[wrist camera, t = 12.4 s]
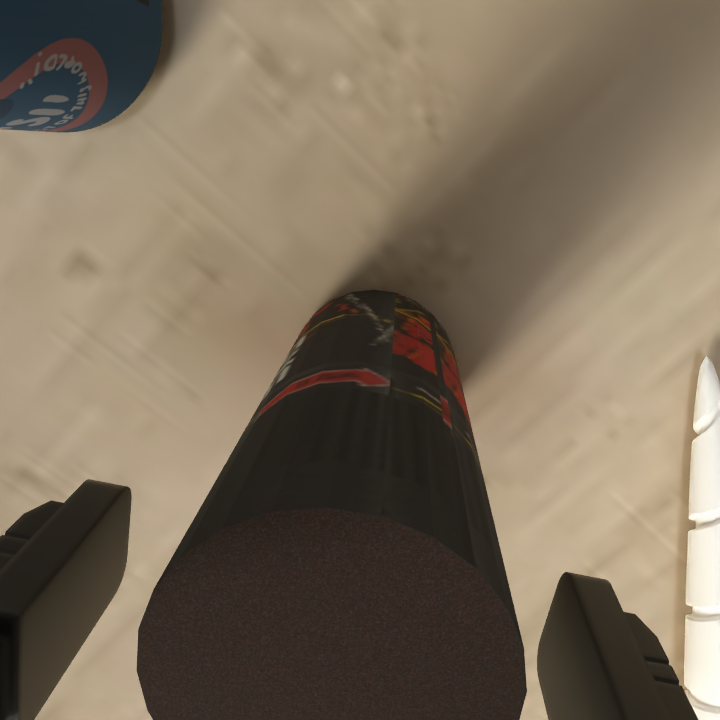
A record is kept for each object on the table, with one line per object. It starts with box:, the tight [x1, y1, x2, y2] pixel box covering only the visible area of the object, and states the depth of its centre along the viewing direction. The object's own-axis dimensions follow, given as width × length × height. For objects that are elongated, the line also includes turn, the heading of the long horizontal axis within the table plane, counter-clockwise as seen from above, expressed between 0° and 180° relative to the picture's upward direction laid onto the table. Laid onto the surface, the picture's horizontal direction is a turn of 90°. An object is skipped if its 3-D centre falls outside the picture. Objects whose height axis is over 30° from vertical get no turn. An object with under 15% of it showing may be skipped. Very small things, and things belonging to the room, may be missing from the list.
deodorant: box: [137, 290, 527, 720], centre depth 17 cm, size 6×6×15 cm
